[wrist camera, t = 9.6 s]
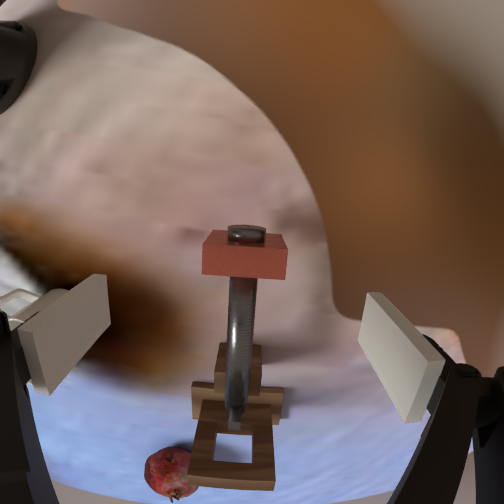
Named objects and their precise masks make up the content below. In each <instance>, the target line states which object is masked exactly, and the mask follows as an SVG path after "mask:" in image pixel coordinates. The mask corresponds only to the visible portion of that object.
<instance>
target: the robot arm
mask: <svg viewBox="0 0 504 504" xmlns="http://www.w3.org/2000/svg"><path fill="white" fill-rule="evenodd" d="M5 1H6V0H0V6H1V5H2V4H3V3H4V2H5ZM36 51H37V41H36V36H35V33H34V32H33V30H32V29H31V28H30V27H28V26H27V25H25V24H23V23H21V22H18V21H0V114H1V113H2V112H4V111H5V110H6V109H7V108H8V107H9V106H10V105H11V104H12V103H13V102H14V101H15V100H16V98H17V97H18V96H19V94H20V93H21V91H22V90H23V88H24V86H25V84H26V82H27V80H28V78H29V76H30V74H31V71H32V68H33V65H34V62H35V57H36ZM110 324H111V321H110V311H109V301H108V290H107V276H106V275H101V274H93V275H91V276H90V277H88V278H87V279H85V280H84V281H82V282H81V283H79V284H78V285H77V286H75V287H74V288H72V289H71V290H69V291H68V292H67V293H65V294H64V295H62V296H61V297H60V298H58V299H57V300H55V301H54V302H53V303H51V304H50V305H48V306H47V307H46V308H44V309H43V310H41V311H39V312H36V313H35V314H33V315H32V316H31V317H29V319H27V320H25V321H24V323H23V322H22V323H21V324H20V325H18V326H17V327H16V328H14V329H13V330H12V331H11V330H10V326H9V322H8V317H7V314H6V313H5V312H3V311H0V504H59V501H58V499H57V496H56V494H55V490H54V488H53V485H52V482H51V479H50V476H49V473H48V470H47V466H46V463H45V460H44V456H43V453H42V449H41V446H40V442H39V438H38V434H37V430H36V426H35V421H34V417H33V412H32V407H31V402H30V397H29V391H28V388H27V386H26V383H27V382H28V381H29V380H30V379H31V380H32V383H33V387H34V389H35V391H37V392H40V393H43V394H46V395H49V396H50V395H51V394H52V393H53V391H54V390H55V389H56V388H57V386H58V385H59V384H60V383H61V382H62V380H63V379H64V378H65V377H66V376H67V374H68V373H69V372H70V371H71V370H72V368H73V367H74V366H75V365H76V364H77V362H78V361H79V360H80V359H81V358H82V357H83V355H84V354H85V353H86V352H87V351H88V350H89V348H90V347H91V346H92V345H93V344H94V343H95V341H96V340H97V339H98V338H99V337H100V336H101V335H102V333H103V332H104V331H105V330H106V329H107V328H108V327H109V325H110ZM358 343H359V344H360V346H361V348H362V349H363V351H364V353H365V355H366V356H367V358H368V360H369V362H370V363H371V365H372V367H373V369H374V370H375V372H376V374H377V376H378V377H379V379H380V381H381V383H382V384H383V386H384V388H385V390H386V392H387V393H388V395H389V397H390V399H391V401H392V402H393V404H394V406H395V408H396V410H397V411H398V413H399V415H400V417H401V419H402V421H403V423H411V422H417V421H421V420H422V418H423V416H424V413H425V411H426V409H427V410H428V411H429V413H430V414H431V416H430V418H429V420H428V422H427V424H426V426H425V428H424V430H423V432H422V434H421V439H420V441H419V443H418V445H417V448H416V450H415V452H414V454H413V456H412V458H411V460H410V462H409V464H408V466H407V468H406V470H405V472H404V474H403V476H402V478H401V480H400V482H399V483H398V485H397V487H396V489H395V491H394V493H393V495H392V496H391V498H390V500H389V501H388V503H387V504H453V502H454V499H455V496H456V493H457V490H458V487H459V484H460V481H461V477H462V474H463V470H464V467H465V463H466V459H467V455H468V451H469V447H470V443H471V438H472V439H473V449H474V460H475V461H474V462H475V478H476V479H475V480H476V504H504V366H502V367H499V368H498V369H497V371H496V373H495V375H494V378H490V377H481V373H480V372H479V370H478V369H476V368H475V367H473V366H471V365H468V364H463V363H458V364H456V363H455V362H454V361H453V360H452V358H451V357H450V356H449V355H448V354H447V353H446V352H445V351H444V350H443V349H442V348H441V347H439V345H438V344H437V343H436V342H435V341H434V340H433V339H431V338H430V337H428V336H426V335H424V334H423V335H422V334H421V333H420V332H419V331H418V330H417V329H416V328H415V327H414V326H413V325H412V324H411V323H410V322H409V321H408V320H407V319H406V318H405V317H404V315H402V313H401V312H400V311H398V309H397V308H396V307H395V306H394V305H393V304H392V303H391V302H390V301H388V299H386V297H385V296H384V295H382V293H371V292H368V293H367V297H366V303H365V308H364V313H363V318H362V323H361V327H360V332H359V337H358Z"/></svg>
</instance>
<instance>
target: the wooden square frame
mask: <svg viewBox="0 0 504 504" xmlns="http://www.w3.org/2000/svg"><path fill="white" fill-rule="evenodd" d="M191 393H192V415H193V419H197V420H198V424H197V429H196V434H195V438H194V443H193V448H192V453H191V458H190V462H189V467H188V472H187V479H188V485H195V486H203V487H213V488H224V489H238V490H263V491H273V490H274V486H275V482H276V478H275V462H274V446H273V430H272V425H279V420H280V414H281V408H282V402H283V395H284V391H283V388H272V387H260V396H248V404H247V410H246V412H245V413H243V414H241V427H240V430H228V421H229V413H228V412H227V411H226V410H225V394H218V393H214V384H211V383H201V382H192V386H191ZM217 433H223V434H236V435H252V463H235V462H222V461H213V459H214V451H215V444H216V437H217Z"/></svg>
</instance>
